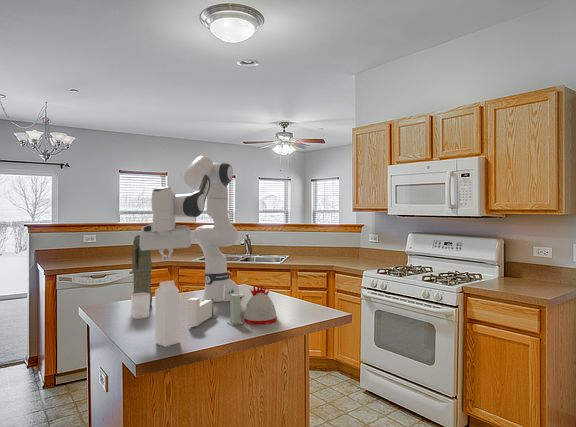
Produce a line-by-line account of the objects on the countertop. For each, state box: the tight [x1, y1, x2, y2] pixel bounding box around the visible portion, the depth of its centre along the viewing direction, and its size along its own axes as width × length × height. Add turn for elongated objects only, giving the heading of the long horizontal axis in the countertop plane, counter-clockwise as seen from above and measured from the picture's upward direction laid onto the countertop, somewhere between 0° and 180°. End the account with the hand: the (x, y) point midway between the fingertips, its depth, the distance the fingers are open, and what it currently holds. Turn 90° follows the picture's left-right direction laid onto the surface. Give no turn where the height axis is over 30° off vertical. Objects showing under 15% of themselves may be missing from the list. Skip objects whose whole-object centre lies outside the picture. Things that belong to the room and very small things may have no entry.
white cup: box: [130, 293, 151, 320], centre depth 181 cm, size 8×8×10 cm
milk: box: [154, 279, 181, 348], centre depth 145 cm, size 6×6×22 cm
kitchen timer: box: [243, 284, 278, 326], centre depth 174 cm, size 14×14×15 cm
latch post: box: [226, 294, 245, 327], centre depth 168 cm, size 5×5×12 cm
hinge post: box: [207, 298, 218, 320], centre depth 179 cm, size 6×6×8 cm
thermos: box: [131, 234, 153, 309], centre depth 198 cm, size 9×12×35 cm
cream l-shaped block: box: [187, 297, 212, 327], centre depth 170 cm, size 16×4×10 cm, turn 166°
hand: (166, 259), depth 167 cm, fingers closed
